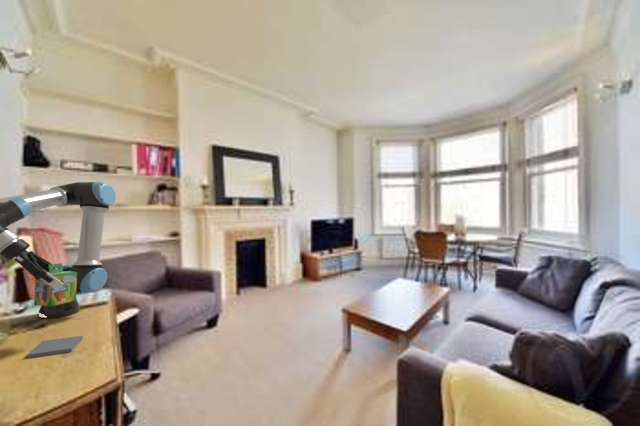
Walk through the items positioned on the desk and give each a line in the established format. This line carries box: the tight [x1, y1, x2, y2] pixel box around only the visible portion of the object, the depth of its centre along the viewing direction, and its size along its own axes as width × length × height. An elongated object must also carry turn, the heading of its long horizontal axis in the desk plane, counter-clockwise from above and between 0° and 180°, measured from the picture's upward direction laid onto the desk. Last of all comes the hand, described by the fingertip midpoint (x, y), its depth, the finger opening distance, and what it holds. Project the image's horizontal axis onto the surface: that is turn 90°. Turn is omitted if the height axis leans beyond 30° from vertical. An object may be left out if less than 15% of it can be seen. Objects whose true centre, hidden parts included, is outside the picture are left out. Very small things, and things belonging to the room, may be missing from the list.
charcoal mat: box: [26, 335, 84, 359], centre depth 108 cm, size 12×12×1 cm
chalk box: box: [33, 262, 77, 307], centre depth 113 cm, size 9×9×15 cm
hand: (63, 283), depth 115 cm, fingers closed on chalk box, 12 cm apart
